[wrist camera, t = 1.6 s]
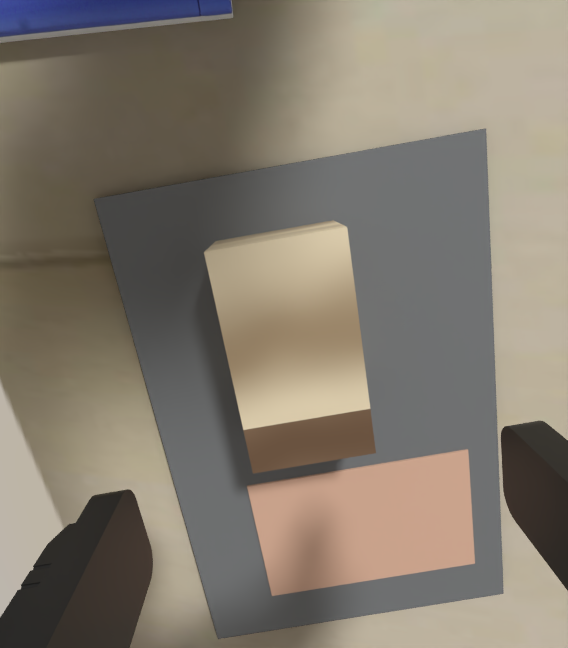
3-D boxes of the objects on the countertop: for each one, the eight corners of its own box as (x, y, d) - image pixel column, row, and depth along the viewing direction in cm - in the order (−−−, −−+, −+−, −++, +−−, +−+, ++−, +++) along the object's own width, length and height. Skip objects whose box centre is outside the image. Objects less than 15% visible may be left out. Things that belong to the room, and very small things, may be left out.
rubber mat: (97, 198, 19) (92, 199, 18) (481, 129, 18) (486, 128, 18) (218, 632, 25) (217, 640, 25) (499, 587, 25) (504, 595, 25)
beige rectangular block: (215, 241, 19) (203, 252, 16) (333, 220, 19) (347, 226, 15) (255, 429, 21) (252, 473, 18) (359, 411, 21) (376, 453, 18)
